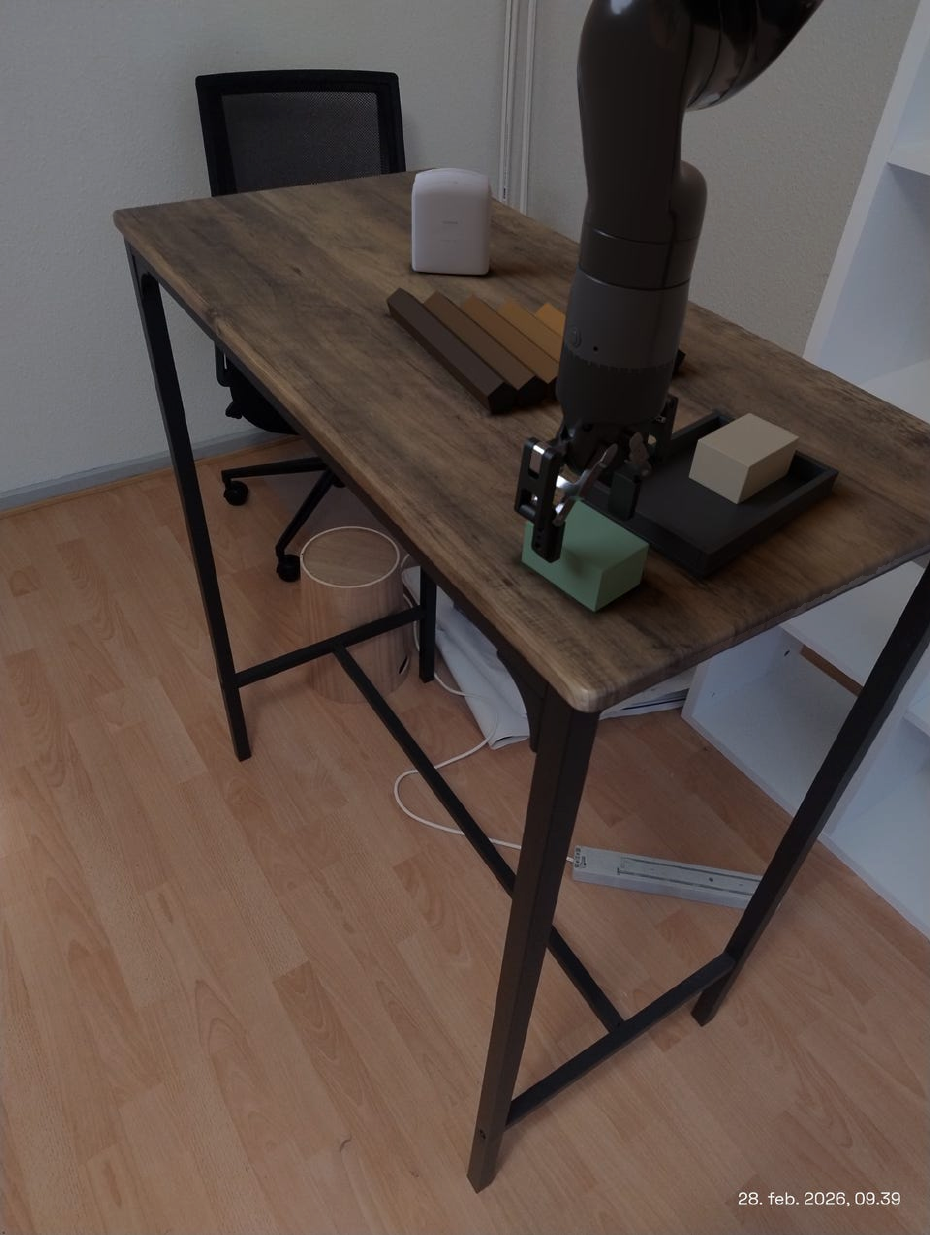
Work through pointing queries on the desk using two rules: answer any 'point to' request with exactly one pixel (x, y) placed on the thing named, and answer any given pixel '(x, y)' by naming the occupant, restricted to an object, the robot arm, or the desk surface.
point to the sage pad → (591, 558)
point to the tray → (711, 504)
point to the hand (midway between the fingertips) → (583, 535)
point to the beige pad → (743, 457)
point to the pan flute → (490, 346)
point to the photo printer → (451, 222)
